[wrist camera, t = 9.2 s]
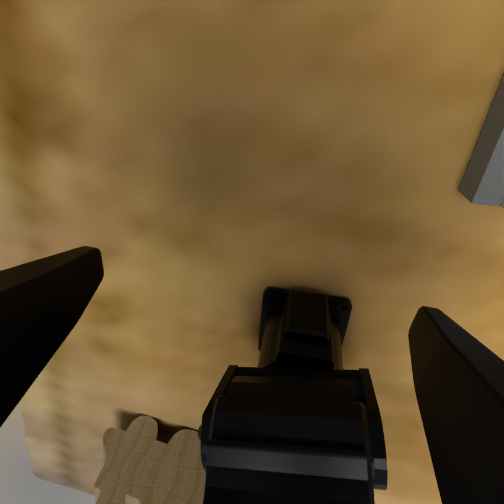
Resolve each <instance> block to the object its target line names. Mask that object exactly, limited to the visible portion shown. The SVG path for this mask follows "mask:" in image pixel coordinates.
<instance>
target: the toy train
mask: <svg viewBox="0 0 504 504" xmlns="http://www.w3.org/2000/svg"><path fill="white" fill-rule="evenodd" d="M157 433H158V427H157V422H156V421H155V420H154V419H153V418H152V417H150V416H142V415H141V416H139V417H138V418H136V419H135V420H133V421H132V423H131V424H130V426H129V427H128V429H127V430H126V431H125V430H120V429H115V428H109V429H106V431H105V432H104V435H103V454H104V466H103V468H102V470H101V472H100V474H99V476H98V478H97V480H96V482H95V484H94V489H95V501H96V504H203V498H204V490H205V480H206V472H205V470H204V469H203V466H202V462H201V448H200V444H201V441H200V439H199V438H198V433H197V432H196V431H194V430H189V429H182V430H180V431H179V432H177V433H175V434H174V435H173V437H172V438H171V439H170V441H169V442H168V444H166V443H163V442H160V441H157Z"/></svg>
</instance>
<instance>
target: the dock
mask: <svg viewBox="0 0 504 504" xmlns="http://www.w3.org/2000/svg"><path fill="white" fill-rule="evenodd" d="M458 191H460V192H461V193H462V194H463V195H464V196H465V197H466V198H467V199H468V200H469V201H470V202H471V203H475V204H485V205H494V206H502V207H503V208H504V75H503V77H502V80H501V82H500V85H499V87H498V90H497V93H496V95H495V98H494V100H493V103H492V105H491V108H490V110H489V113H488V115H487V118H486V121H485V123H484V126H483V128H482V131H481V133H480V136H479V138H478V141H477V144H476V146H475V149H474V151H473V154H472V156H471V159H470V161H469V164H468V167H467V169H466V172H465V174H464V177H463V179H462V182H461V184H460V187H459V190H458Z"/></svg>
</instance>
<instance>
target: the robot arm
mask: <svg viewBox="0 0 504 504" xmlns="http://www.w3.org/2000/svg"><path fill="white" fill-rule="evenodd" d="M103 276H104V269H103V263H102V256H101V252H100V250H99V249H98V248H94V247H89V246H82V247H79V248H75V249H72V250H69V251H65V252H62V253H59V254H55V255H52V256H49V257H45V258H42V259H39V260H35V261H32V262H29V263H25V264H22V265H19V266H15V267H12V268H9V269H5V270H2V271H0V427H1V426H2V424H3V423H4V422H5V420H6V419H7V417H8V416H9V415H10V414H11V412H12V411H13V410H14V408H15V407H16V405H17V404H18V403H19V401H20V400H21V399H22V397H23V396H24V395H25V393H26V392H27V390H28V389H29V388H30V386H31V385H32V384H33V382H34V381H35V380H36V378H37V377H38V376H39V374H40V373H41V371H42V370H43V369H44V367H45V366H46V365H47V363H48V362H49V361H50V359H51V358H52V356H53V355H54V354H55V352H56V351H57V350H58V348H59V347H60V346H61V344H62V343H63V341H64V340H65V339H66V337H67V336H68V335H69V333H70V332H71V331H72V329H73V328H74V326H75V325H76V324H77V322H78V320H79V319H80V317H81V316H82V314H83V312H84V311H85V309H86V307H87V305H88V304H89V302H90V300H91V299H92V297H93V295H94V293H95V292H96V290H97V288H98V286H99V285H100V283H101V281H102V279H103ZM268 293H271V294H272V296H270V295H268ZM344 304H346V305H347V306H342V305H344ZM351 310H352V303H351V301H350V300H349V299H347V298H340V297H333V296H326V295H321V294H314V293H307V292H300V291H294V290H293V291H291V290H284V289H278V288H266V289H265V290H264V294H263V303H262V313H261V324H260V335H259V346H258V349H259V350H260V357H259V362H258V367H238V365H229V367H228V369H227V370H226V372H225V374H224V375H223V377H222V379H221V381H220V383H219V385H218V387H217V388H216V390H215V392H214V394H213V396H212V398H211V400H210V402H209V403H208V405H207V407H206V409H205V411H204V413H203V416H202V424H201V425H200V427H199V430H198V438H199V439H200V441H201V444H200V448H201V462H202V466H203V469H204V470H205V472H206V480H205V490H204V498H203V504H375V503H374V491H373V489H379V490H386V489H387V460H386V449H385V440H384V433H383V426H382V420H381V415H380V411H379V407H378V403H377V400H376V396H375V392H374V388H373V384H372V381H371V377H370V373H369V369H366V368H359V370H343V361H342V349H341V346H342V343H343V339H344V335H345V332H346V328H347V324H348V321H349V317H350V313H351ZM408 338H409V346H410V355H411V363H412V372H413V380H414V387H415V392H416V397H417V401H418V405H419V410H420V414H421V418H422V422H423V426H424V430H425V434H426V439H427V443H428V447H429V451H430V455H431V459H432V463H433V468H434V472H435V476H436V480H437V484H438V488H439V492H440V497H441V501H442V504H504V361H503V360H502V359H501V358H499V357H498V356H497V355H496V354H494V353H493V352H492V351H491V350H489V349H488V348H487V347H486V346H484V345H483V344H482V343H481V342H479V341H478V340H477V339H476V338H474V337H473V336H472V335H471V334H469V333H468V332H467V331H466V330H464V329H463V328H462V327H461V326H459V325H458V324H457V323H455V322H454V321H453V320H452V319H450V318H449V317H448V316H447V315H445V314H444V313H443V312H442V311H440V310H439V309H437V308H432V307H426V306H422V307H420V308H419V310H418V312H417V314H416V316H415V318H414V320H413V322H412V324H411V327H410V329H409V334H408Z"/></svg>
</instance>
